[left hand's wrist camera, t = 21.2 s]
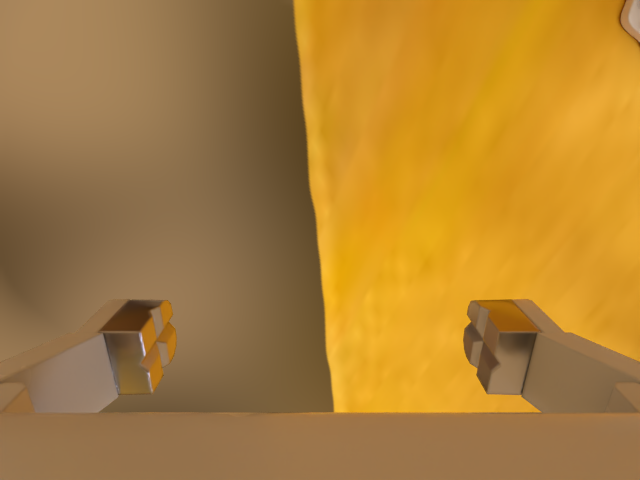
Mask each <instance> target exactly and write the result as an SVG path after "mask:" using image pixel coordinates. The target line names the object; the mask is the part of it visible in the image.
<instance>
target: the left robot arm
mask: <svg viewBox="0 0 640 480" xmlns="http://www.w3.org/2000/svg"><path fill="white" fill-rule="evenodd" d="M620 20H621V24H622V26H623V28H624V29H625V30H626V31H627V32H628V33H629V34H630V35H631V36H633V37H634V38H635V39H637V40H638V42H639V43H640V0H626V3H625V5H624V8H623V11H622V13H621V18H620ZM172 315H173V312H172V307H171V303H170V302H169V301H168V300H133V299H132V300H130V299H114V300H109V301H107V302H106V303H105V304H104V305H103V306H102V307H101V308H100V309H99V310H98V311H97V312H96V313H95V314H94V315H93V316H92V317H91V318H90V319H89V320H88V321H87V322H86V323H85V324H84V325H83V326H82V327H81V328H80V329H79V330H77V331H76V332H75V333H67V334H65V335H62V336H60V337H58V338H56V339H53V340H51V341H49V342H46V343H44V344H41V345H39V346H37V347H34V348H32V349H30V350H27V351H25V352H23V353H20V354H18V355H16V356H13V357H11V358H9V359H6V360H4V361H1V362H0V480H640V362H638V361H636V360H634V359H631V358H629V357H627V356H624V355H622V354H620V353H617V352H615V351H613V350H610V349H608V348H606V347H603V346H601V345H599V344H596V343H594V342H592V341H589V340H587V339H585V338H582V337H580V336H578V335H575V334H573V333H565V332H564V331H563V330H561V329H560V328H559V327H558V326H557V325H556V324H555V323H554V322H553V321H552V320H551V319H550V318H549V317H548V316H547V315H546V314H545V313H544V312H543V311H542V310H541V309H540V308H539V307H538V306H537V305H536V304H535V303H534V302H533V301H531V300H528V299H515V300H474V301H471V302H470V304H469V306H468V311H467V315H468V317H469V318H470V320H471V323H470V324H469V325H468V326H467V327H466V328H465V330H464V338H463V342H464V350H465V354H466V357H467V359H468V361H469V363H470V364H472V365H473V366H475V367H476V368H478V370H477V377H478V379H479V381H480V382H481V384H482V386H483V388H484V389H485V391H486V393H487V394H503V395H522V396H521V397H523V398H524V399H525V400H527V401H528V402H529V403H531V404H532V405H533V406H535V407H536V408H537V409H538V410H540V411H541V412H542V413H98V412H99V411H100V410H102V409H103V408H104V407H106V406H107V405H108V404H109V403H111V402H112V401H113V400H115V399H116V398H117V397H118V395H136V394H153V393H154V391H155V389H156V388H157V386H158V384H159V382H160V380H161V379H162V377H163V370H162V368H164V367H165V366H167V365H168V364H170V363H171V361H172V359H173V357H174V354H175V349H176V340H177V337H176V330H175V328H174V327H173V326H172V325H171V324H170V323H169V320H170V318H171V317H172Z"/></svg>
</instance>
